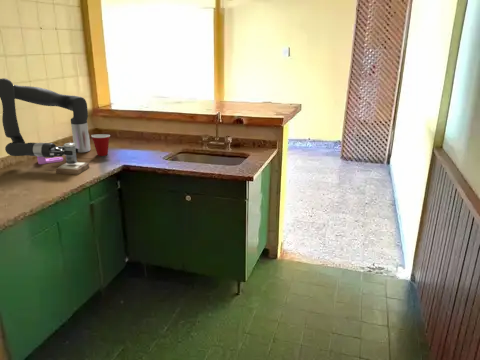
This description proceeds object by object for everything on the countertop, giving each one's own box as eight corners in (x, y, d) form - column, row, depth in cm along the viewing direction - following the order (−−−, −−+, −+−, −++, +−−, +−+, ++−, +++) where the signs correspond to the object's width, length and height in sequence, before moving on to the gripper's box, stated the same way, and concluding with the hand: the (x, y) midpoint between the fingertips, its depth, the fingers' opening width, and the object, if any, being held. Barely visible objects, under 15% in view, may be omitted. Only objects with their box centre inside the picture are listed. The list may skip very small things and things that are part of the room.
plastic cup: (114, 152, 252) (113, 133, 248) (107, 157, 242) (105, 137, 238) (97, 151, 253) (95, 132, 249) (90, 156, 243) (87, 136, 239)
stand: (68, 166, 225) (67, 161, 224) (89, 167, 224) (88, 162, 223) (56, 173, 214) (55, 167, 213) (77, 174, 213) (77, 168, 212)
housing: (69, 160, 220) (67, 142, 217) (79, 161, 220) (77, 143, 216) (64, 163, 215) (61, 145, 212) (74, 164, 215) (71, 145, 211)
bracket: (38, 164, 228) (36, 152, 226) (38, 162, 233) (36, 150, 231) (64, 161, 234) (62, 149, 232) (62, 158, 239) (61, 147, 237)
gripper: (35, 146, 209) (67, 148, 207) (51, 139, 223) (81, 141, 221) (37, 160, 212) (68, 162, 210) (53, 153, 225) (82, 154, 223)
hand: (75, 151), depth 215 cm, fingers closed on housing, 5 cm apart
